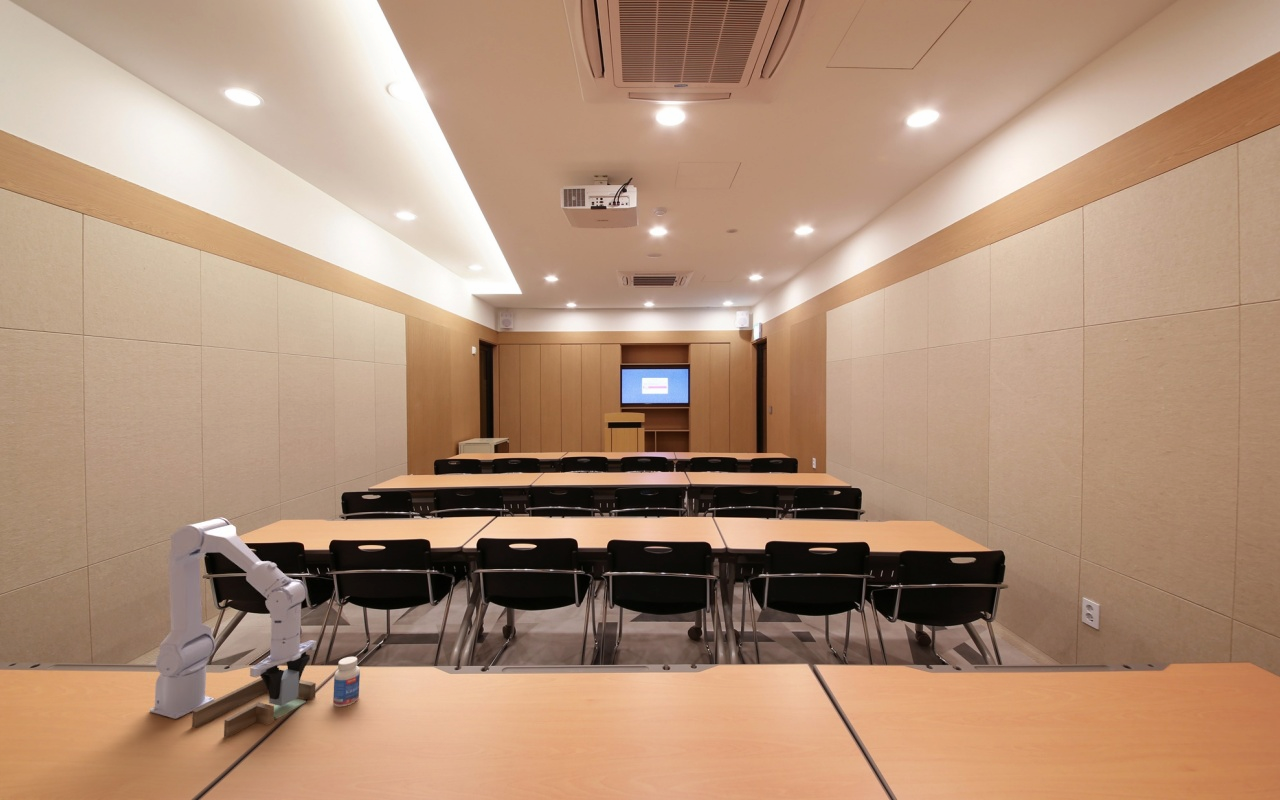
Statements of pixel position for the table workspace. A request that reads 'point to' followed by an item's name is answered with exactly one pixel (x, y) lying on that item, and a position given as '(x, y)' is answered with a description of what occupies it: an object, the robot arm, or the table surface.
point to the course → (250, 714)
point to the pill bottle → (346, 682)
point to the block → (287, 688)
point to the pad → (287, 707)
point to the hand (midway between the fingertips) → (283, 692)
